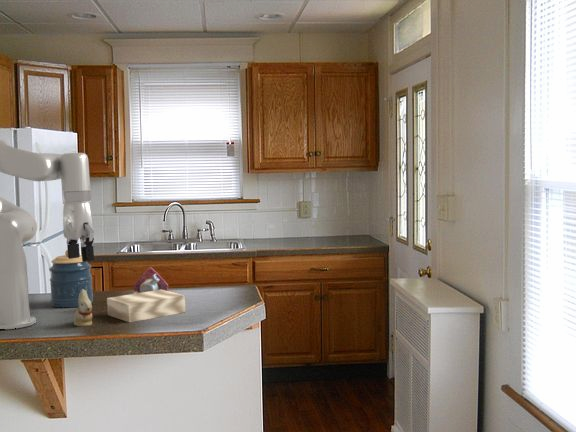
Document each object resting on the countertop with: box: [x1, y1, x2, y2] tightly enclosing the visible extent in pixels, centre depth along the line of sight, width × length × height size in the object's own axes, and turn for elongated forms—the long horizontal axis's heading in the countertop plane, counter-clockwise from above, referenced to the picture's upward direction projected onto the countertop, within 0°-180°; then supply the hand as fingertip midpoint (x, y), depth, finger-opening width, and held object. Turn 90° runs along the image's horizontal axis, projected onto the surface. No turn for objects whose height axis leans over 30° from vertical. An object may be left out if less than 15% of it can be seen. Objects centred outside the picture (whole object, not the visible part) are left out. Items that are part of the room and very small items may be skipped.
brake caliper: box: [132, 266, 169, 294], centre depth 230 cm, size 11×11×12 cm
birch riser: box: [106, 290, 186, 323], centre depth 214 cm, size 18×14×5 cm
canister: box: [48, 249, 94, 309], centre depth 231 cm, size 13×13×18 cm
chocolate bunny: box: [73, 289, 93, 327], centre depth 203 cm, size 6×8×10 cm
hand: (81, 259), depth 202 cm, fingers open, 9 cm apart
